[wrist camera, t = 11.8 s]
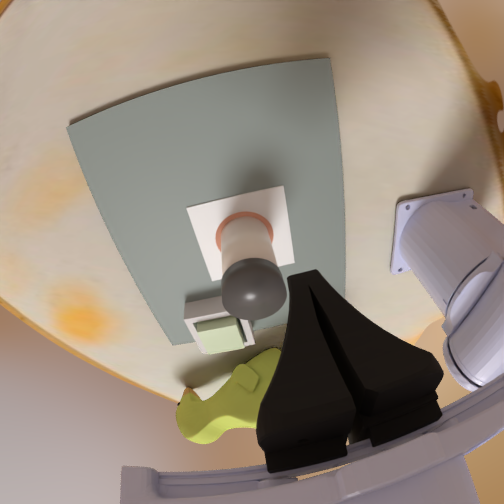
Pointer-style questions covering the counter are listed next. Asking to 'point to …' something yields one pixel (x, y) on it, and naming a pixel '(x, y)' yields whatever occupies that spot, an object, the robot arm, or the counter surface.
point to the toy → (228, 401)
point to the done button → (221, 334)
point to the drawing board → (219, 184)
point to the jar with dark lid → (250, 271)
